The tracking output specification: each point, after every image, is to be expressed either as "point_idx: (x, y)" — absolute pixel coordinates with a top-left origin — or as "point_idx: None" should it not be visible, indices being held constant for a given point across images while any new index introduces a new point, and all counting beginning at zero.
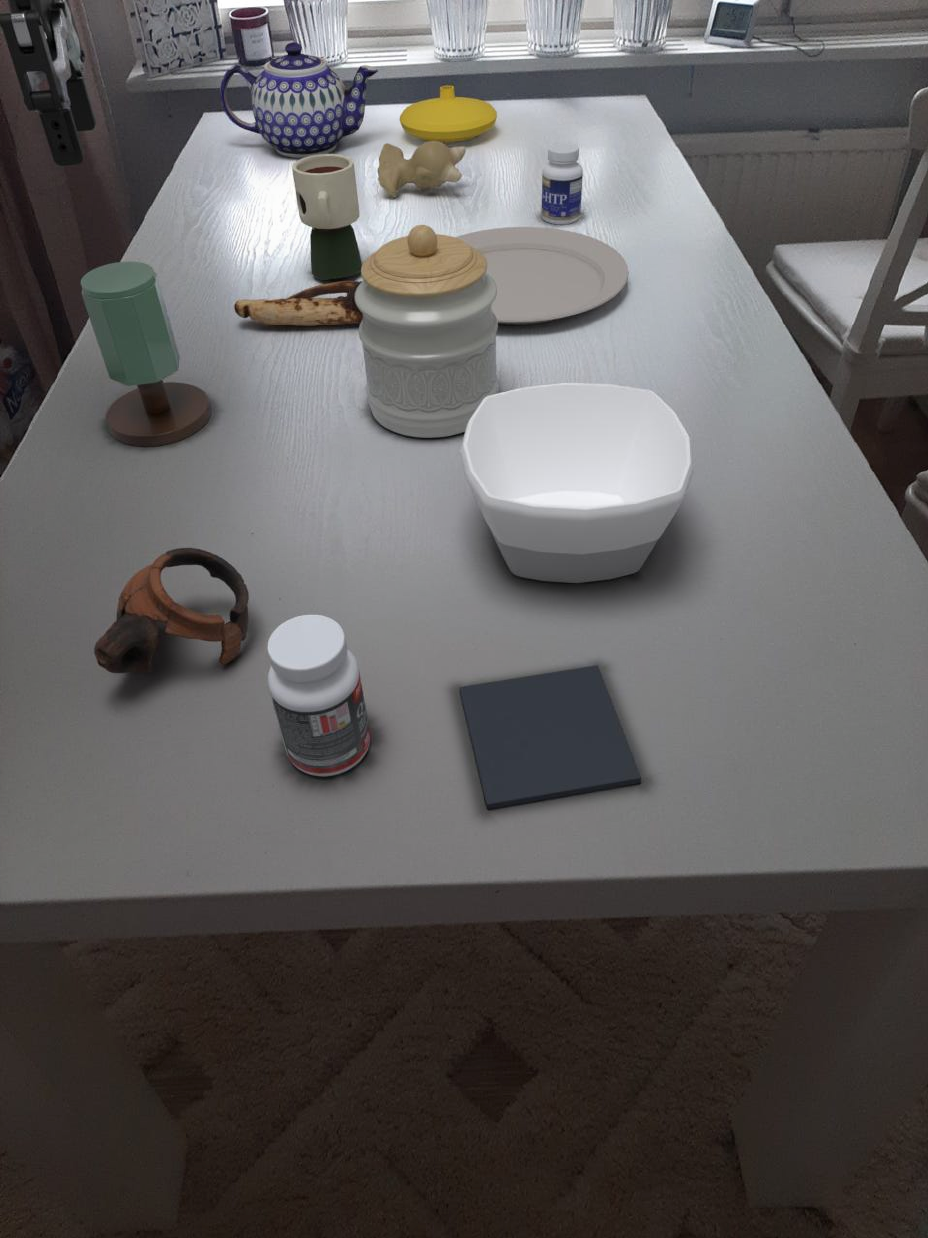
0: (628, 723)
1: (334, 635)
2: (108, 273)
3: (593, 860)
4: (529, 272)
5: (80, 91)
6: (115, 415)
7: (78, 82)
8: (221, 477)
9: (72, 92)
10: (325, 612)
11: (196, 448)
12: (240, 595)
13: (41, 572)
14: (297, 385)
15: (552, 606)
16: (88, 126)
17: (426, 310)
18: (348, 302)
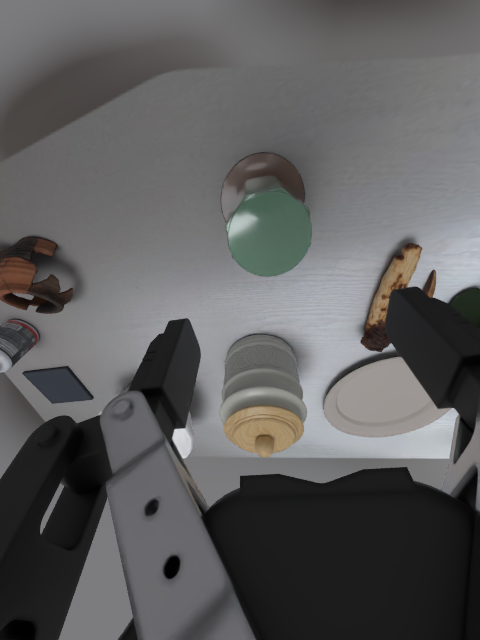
0: (75, 401)
1: None
2: (279, 224)
3: (22, 390)
4: (398, 400)
5: (424, 379)
6: (253, 164)
7: (438, 397)
8: (187, 262)
9: (430, 363)
10: (91, 324)
11: (219, 238)
12: (48, 312)
13: (65, 159)
14: (294, 292)
15: (120, 389)
16: (387, 324)
17: (225, 420)
18: (374, 329)
